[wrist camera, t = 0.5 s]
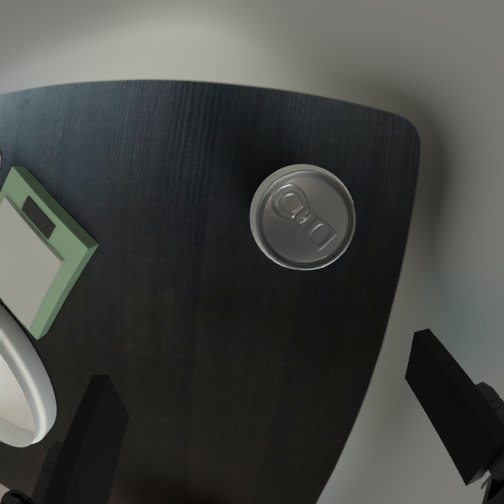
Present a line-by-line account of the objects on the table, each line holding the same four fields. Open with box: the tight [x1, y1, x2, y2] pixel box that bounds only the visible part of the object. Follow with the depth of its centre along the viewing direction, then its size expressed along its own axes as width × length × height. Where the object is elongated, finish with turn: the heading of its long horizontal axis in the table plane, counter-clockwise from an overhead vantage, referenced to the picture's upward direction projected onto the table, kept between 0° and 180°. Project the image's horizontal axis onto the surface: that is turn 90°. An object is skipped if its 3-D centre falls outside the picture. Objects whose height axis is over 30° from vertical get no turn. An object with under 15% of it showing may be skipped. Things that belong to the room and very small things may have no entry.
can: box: [250, 164, 356, 270], centre depth 23 cm, size 6×6×12 cm
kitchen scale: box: [0, 166, 99, 340], centre depth 30 cm, size 15×14×3 cm
